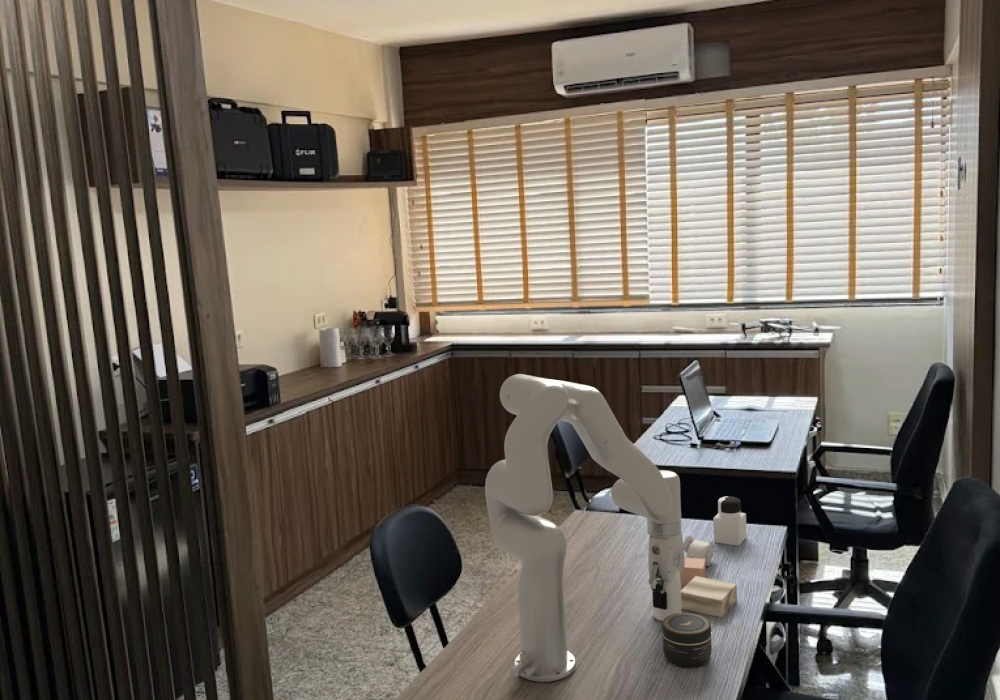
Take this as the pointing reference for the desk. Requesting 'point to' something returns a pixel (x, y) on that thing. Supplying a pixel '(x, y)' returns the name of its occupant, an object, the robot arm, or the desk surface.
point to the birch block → (708, 596)
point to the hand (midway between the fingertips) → (666, 600)
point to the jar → (687, 640)
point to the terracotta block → (692, 570)
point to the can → (670, 598)
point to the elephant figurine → (699, 549)
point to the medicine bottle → (729, 522)
